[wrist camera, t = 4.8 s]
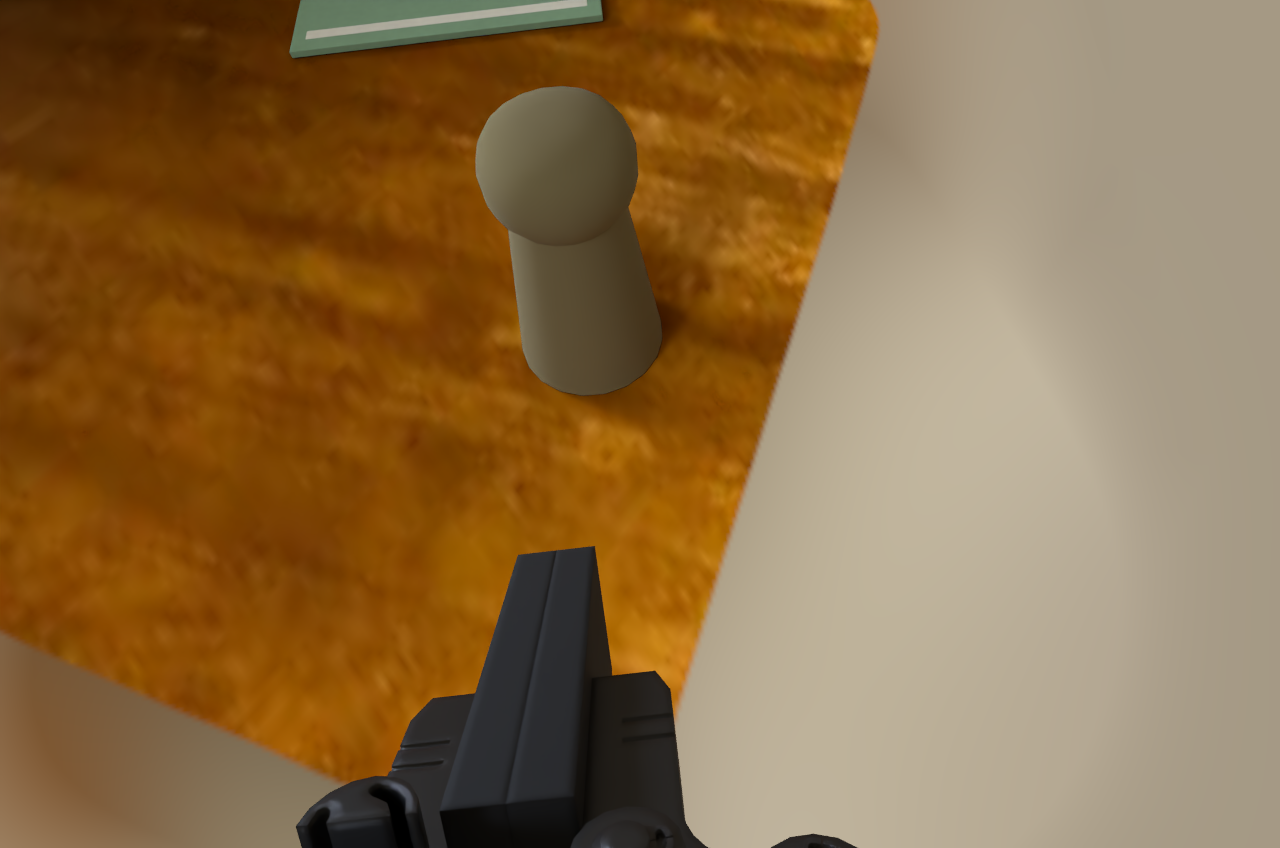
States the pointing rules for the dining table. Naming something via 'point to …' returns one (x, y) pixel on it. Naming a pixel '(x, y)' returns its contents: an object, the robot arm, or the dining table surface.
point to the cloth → (424, 21)
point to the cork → (571, 237)
